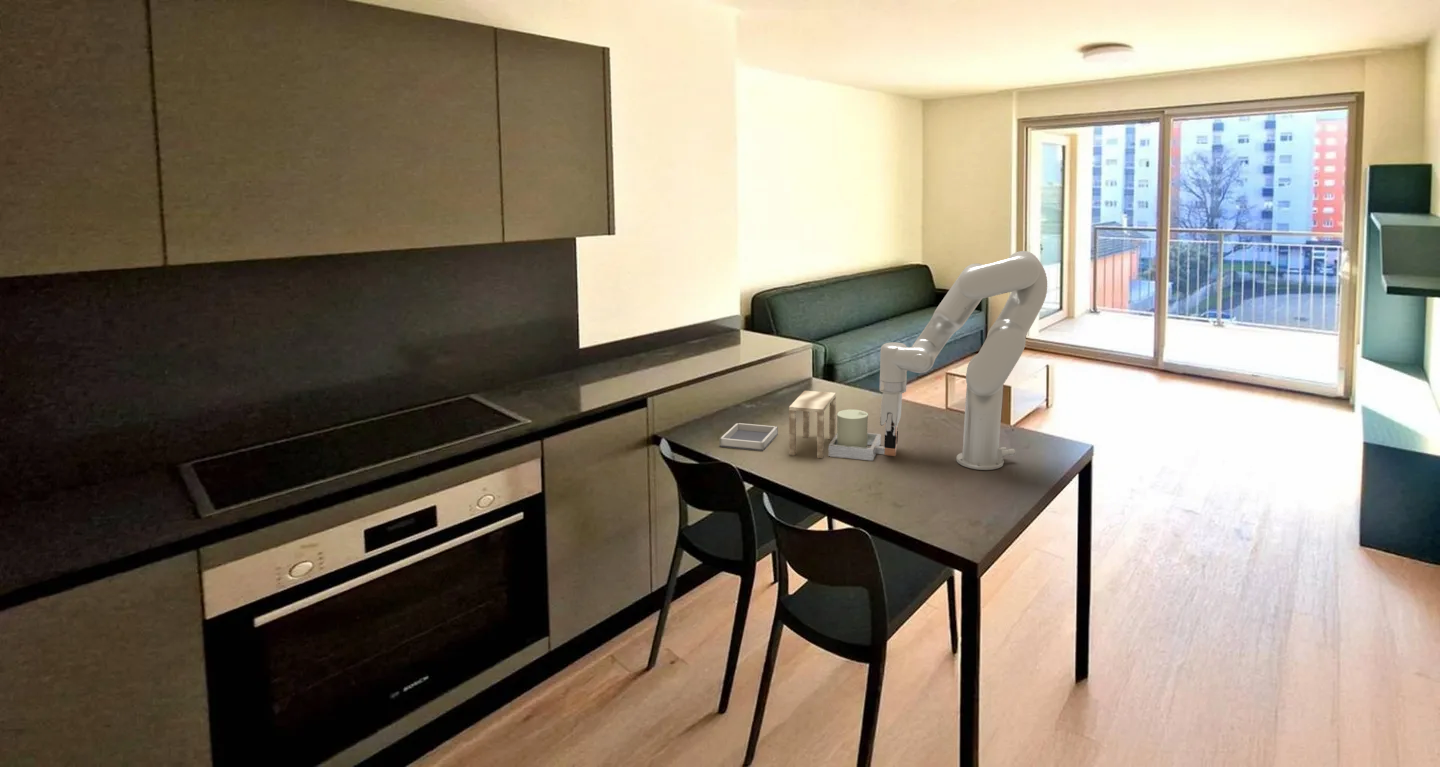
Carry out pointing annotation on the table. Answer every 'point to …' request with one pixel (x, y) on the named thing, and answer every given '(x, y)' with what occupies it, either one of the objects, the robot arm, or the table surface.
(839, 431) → the can
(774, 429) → the tray
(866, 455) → the shallow grey tray
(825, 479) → the table surface
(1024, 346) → the robot arm
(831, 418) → the wooden stool
